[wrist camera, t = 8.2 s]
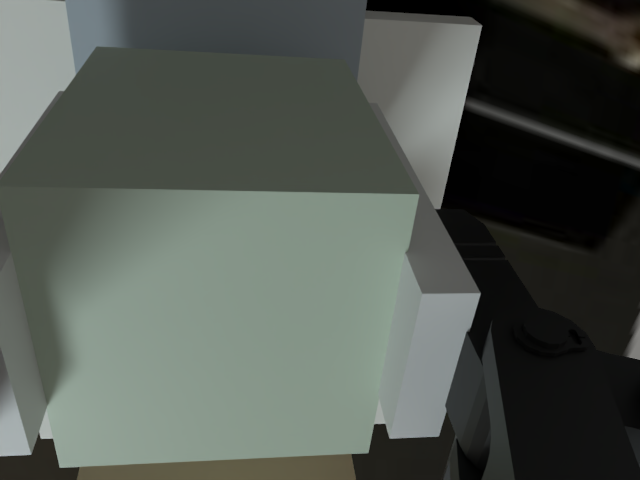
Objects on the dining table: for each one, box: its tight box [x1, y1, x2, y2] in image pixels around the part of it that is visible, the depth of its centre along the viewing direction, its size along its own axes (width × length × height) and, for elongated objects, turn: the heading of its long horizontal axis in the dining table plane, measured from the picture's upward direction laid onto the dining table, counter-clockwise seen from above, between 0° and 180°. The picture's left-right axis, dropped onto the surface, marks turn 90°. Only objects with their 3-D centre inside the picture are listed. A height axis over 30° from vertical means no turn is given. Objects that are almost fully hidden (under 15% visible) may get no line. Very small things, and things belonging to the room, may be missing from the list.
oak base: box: [77, 454, 356, 480], centre depth 17 cm, size 6×6×6 cm
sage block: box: [0, 46, 419, 468], centre depth 11 cm, size 5×5×6 cm
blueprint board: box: [0, 0, 482, 439], centre depth 17 cm, size 15×12×1 cm
